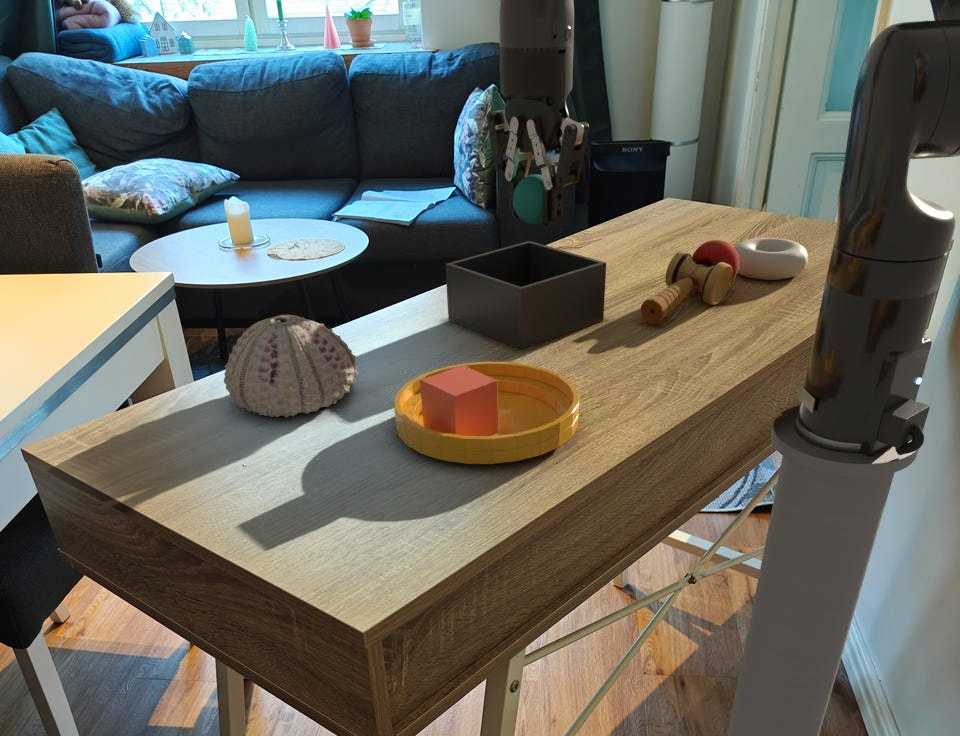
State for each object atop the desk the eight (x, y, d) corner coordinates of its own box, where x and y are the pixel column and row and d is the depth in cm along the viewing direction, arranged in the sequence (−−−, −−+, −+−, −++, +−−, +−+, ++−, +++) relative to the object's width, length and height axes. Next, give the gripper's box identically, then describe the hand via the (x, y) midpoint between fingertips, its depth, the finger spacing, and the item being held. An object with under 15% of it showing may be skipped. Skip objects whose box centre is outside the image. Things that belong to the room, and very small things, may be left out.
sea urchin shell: (386, 394, 91) (377, 316, 86) (276, 439, 84) (260, 356, 79) (309, 362, 99) (298, 288, 94) (202, 400, 92) (184, 322, 87)
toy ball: (566, 222, 101) (567, 174, 98) (533, 232, 98) (533, 182, 95) (536, 215, 104) (536, 167, 101) (504, 224, 102) (503, 175, 98)
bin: (603, 320, 106) (606, 262, 102) (521, 349, 100) (520, 289, 96) (529, 295, 114) (529, 240, 110) (448, 320, 108) (445, 263, 104)
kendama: (686, 342, 103) (756, 279, 112) (679, 288, 99) (753, 227, 108) (629, 340, 108) (701, 280, 117) (620, 289, 104) (696, 230, 113)
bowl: (616, 428, 84) (618, 397, 82) (475, 490, 75) (473, 458, 74) (497, 376, 94) (496, 348, 92) (361, 425, 86) (358, 396, 84)
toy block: (498, 431, 83) (497, 380, 79) (456, 449, 80) (453, 396, 77) (464, 415, 86) (462, 364, 83) (423, 431, 83) (419, 379, 80)
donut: (731, 259, 124) (723, 280, 116) (735, 233, 121) (727, 252, 114) (807, 264, 121) (803, 285, 113) (812, 237, 119) (809, 256, 111)
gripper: (463, 40, 93) (470, 215, 104) (558, 48, 84) (555, 239, 95) (517, 33, 96) (518, 203, 107) (613, 40, 88) (604, 225, 98)
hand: (535, 219), depth 101 cm, fingers closed on toy ball, 5 cm apart
